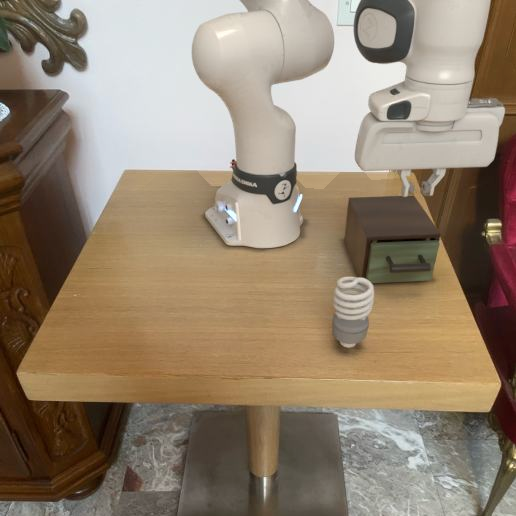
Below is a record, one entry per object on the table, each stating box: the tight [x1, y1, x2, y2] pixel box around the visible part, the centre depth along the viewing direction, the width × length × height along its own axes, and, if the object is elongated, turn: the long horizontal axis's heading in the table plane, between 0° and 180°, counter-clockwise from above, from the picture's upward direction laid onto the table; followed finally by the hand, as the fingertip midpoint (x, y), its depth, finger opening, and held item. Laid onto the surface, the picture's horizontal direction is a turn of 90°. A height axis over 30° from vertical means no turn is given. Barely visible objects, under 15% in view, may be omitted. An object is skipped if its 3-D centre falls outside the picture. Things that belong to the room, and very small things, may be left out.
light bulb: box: [331, 276, 375, 349], centre depth 76 cm, size 6×6×12 cm
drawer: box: [366, 238, 441, 284], centre depth 93 cm, size 19×11×7 cm, turn 4°
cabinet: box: [343, 195, 442, 279], centre depth 97 cm, size 16×13×9 cm
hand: (416, 195), depth 81 cm, fingers closed
